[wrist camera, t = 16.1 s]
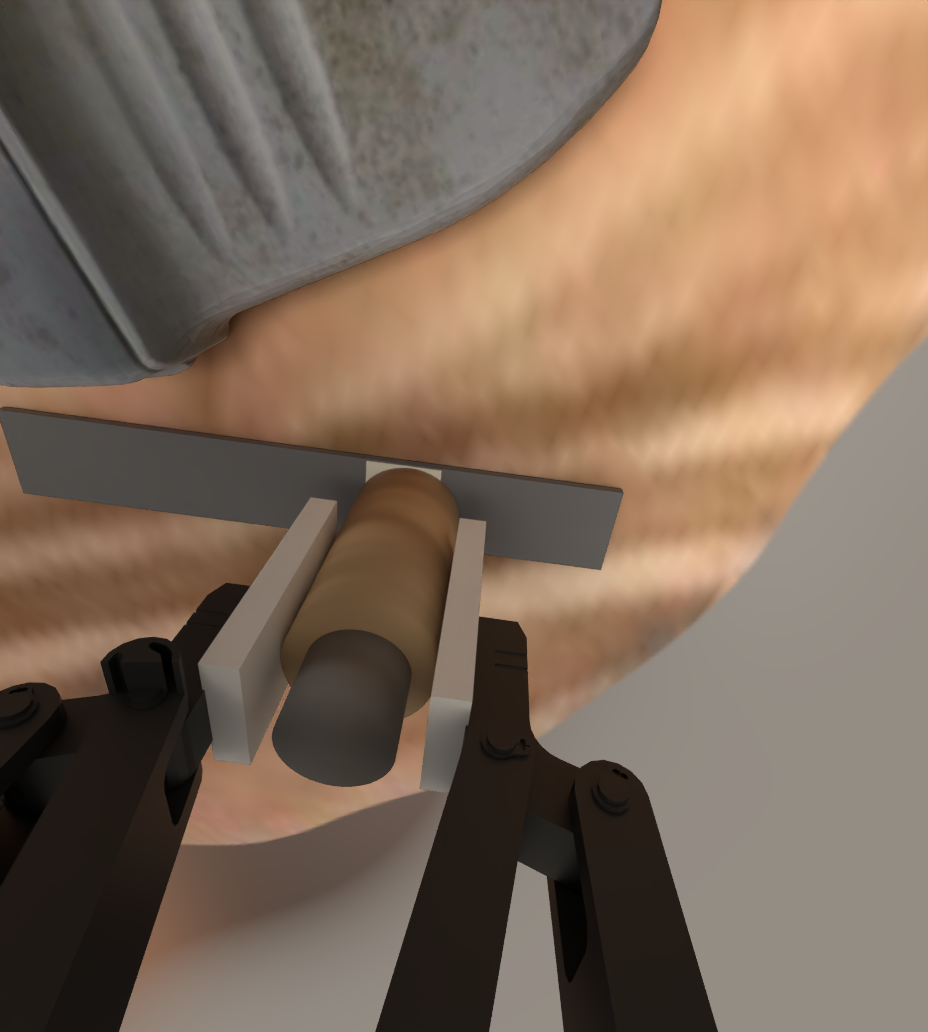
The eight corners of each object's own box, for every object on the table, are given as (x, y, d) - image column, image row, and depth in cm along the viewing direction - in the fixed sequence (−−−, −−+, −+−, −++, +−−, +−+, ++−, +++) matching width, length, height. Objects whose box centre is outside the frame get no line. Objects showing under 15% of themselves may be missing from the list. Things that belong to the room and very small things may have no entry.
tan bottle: (354, 551, 19) (250, 790, 12) (356, 460, 18) (235, 669, 10) (453, 565, 19) (417, 813, 11) (465, 475, 18) (432, 696, 10)
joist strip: (30, 489, 19) (22, 493, 19) (4, 406, 18) (-5, 410, 17) (599, 565, 19) (600, 570, 19) (621, 489, 18) (623, 494, 17)
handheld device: (771, 130, 13) (886, 100, 9) (108, 393, 18) (-9, 451, 14) (716, -552, 9) (890, -1170, 5) (-142, 28, 13) (-418, -43, 9)
